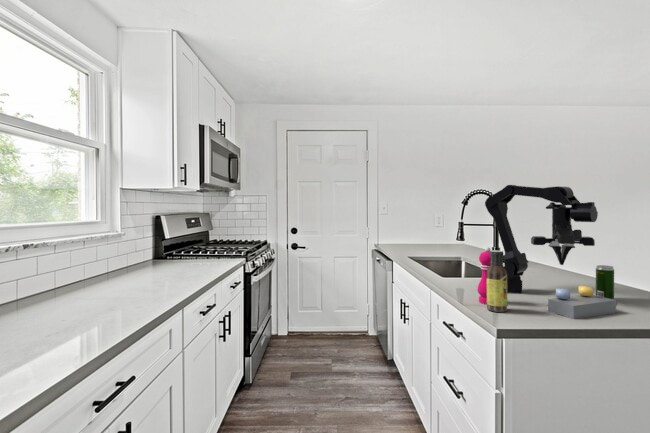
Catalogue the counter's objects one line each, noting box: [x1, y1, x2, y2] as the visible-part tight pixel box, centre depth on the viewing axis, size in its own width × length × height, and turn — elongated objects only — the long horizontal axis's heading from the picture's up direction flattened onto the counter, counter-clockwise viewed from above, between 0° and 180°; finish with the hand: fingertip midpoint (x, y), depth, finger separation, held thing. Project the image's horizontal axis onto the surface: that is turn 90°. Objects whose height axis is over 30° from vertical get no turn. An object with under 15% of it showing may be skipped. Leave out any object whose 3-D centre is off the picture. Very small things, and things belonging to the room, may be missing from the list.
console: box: [547, 294, 617, 320], centre depth 123 cm, size 18×9×4 cm, turn 108°
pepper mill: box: [477, 246, 491, 305], centre depth 136 cm, size 7×7×20 cm
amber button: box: [578, 285, 594, 298], centre depth 126 cm, size 4×4×6 cm
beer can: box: [595, 264, 615, 300], centre depth 137 cm, size 5×5×12 cm
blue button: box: [555, 287, 571, 300], centre depth 123 cm, size 4×4×6 cm
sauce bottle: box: [486, 249, 508, 313], centre depth 126 cm, size 6×6×20 cm
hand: (561, 264), depth 136 cm, fingers closed
